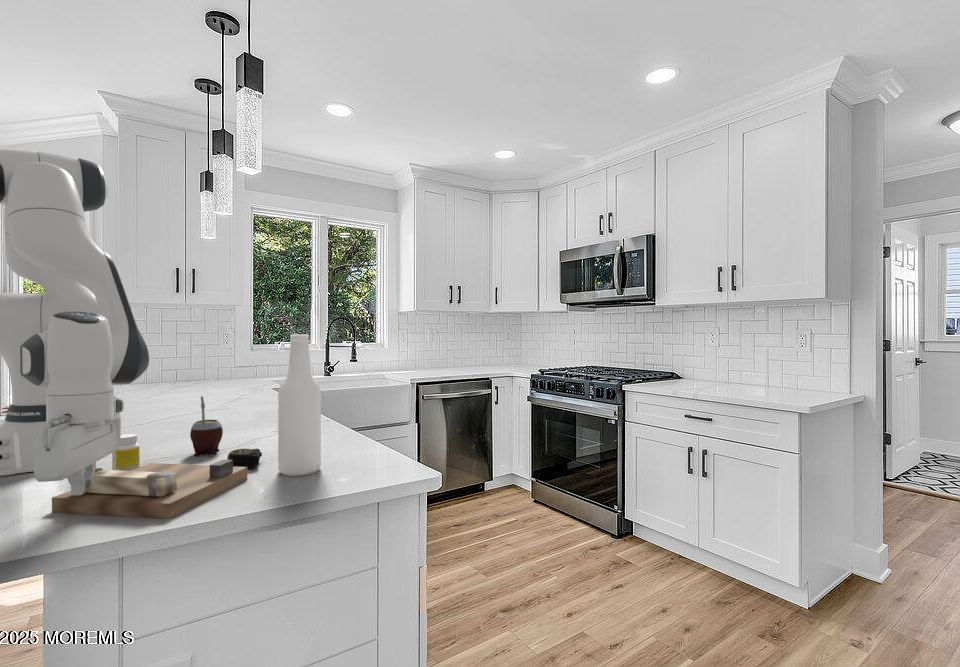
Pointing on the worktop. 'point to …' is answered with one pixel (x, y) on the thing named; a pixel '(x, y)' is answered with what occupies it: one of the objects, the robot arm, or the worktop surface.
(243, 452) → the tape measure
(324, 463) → the worktop surface
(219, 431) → the mate gourd
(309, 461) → the alcohol
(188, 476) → the wooden cutting board
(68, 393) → the robot arm
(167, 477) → the folding leg
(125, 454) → the supplement bottle
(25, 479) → the worktop surface
